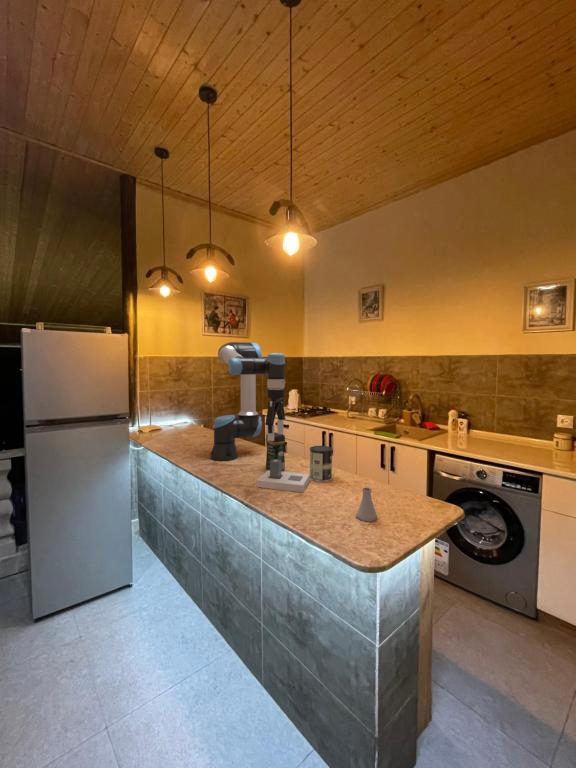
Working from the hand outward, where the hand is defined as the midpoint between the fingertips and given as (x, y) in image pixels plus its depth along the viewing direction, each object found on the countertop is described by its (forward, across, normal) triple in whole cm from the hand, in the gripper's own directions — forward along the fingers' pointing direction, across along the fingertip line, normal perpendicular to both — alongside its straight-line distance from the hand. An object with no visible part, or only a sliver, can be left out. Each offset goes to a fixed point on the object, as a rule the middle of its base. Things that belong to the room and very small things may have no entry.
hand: (275, 437), depth 144 cm
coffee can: (+21, +12, -18) cm, 30 cm away
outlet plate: (+20, 0, -4) cm, 21 cm away
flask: (+21, -22, -40) cm, 50 cm away
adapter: (+20, 0, 0) cm, 21 cm away
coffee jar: (+21, +18, +6) cm, 28 cm away
